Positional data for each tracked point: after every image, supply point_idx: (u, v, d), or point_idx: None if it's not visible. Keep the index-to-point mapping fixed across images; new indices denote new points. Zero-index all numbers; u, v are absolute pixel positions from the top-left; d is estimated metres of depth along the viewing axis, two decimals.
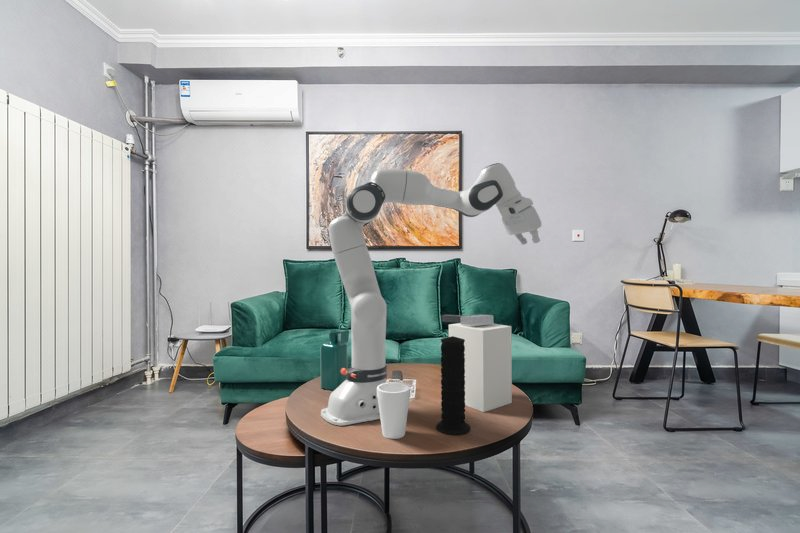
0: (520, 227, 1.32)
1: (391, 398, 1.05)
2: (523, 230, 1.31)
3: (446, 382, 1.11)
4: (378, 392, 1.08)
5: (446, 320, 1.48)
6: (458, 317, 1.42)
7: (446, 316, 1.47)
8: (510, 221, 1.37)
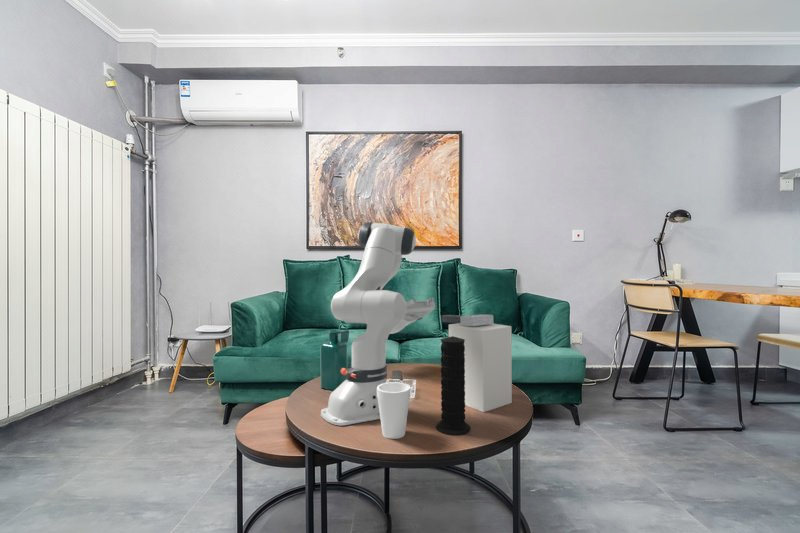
0: None
1: (391, 398, 1.05)
2: None
3: (446, 382, 1.11)
4: (378, 392, 1.08)
5: (446, 320, 1.48)
6: (458, 317, 1.42)
7: (446, 316, 1.48)
8: None
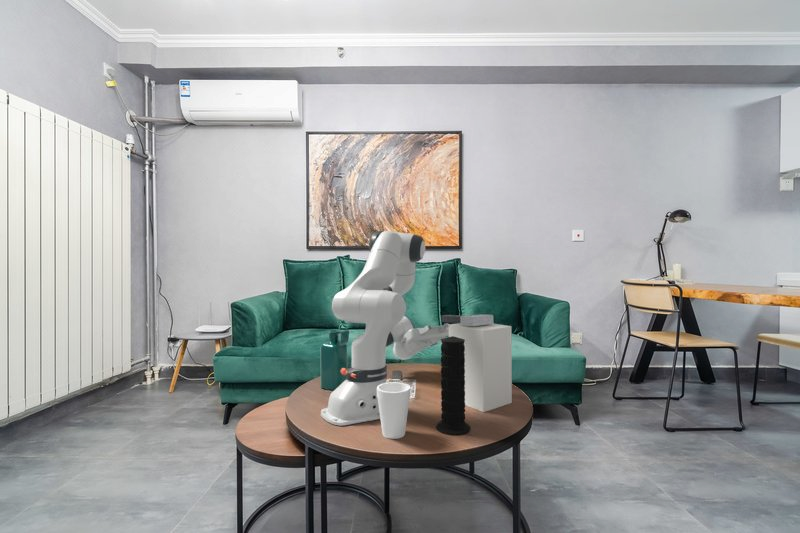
0: None
1: (391, 398, 1.05)
2: None
3: (446, 382, 1.11)
4: (378, 392, 1.08)
5: (446, 320, 1.48)
6: (458, 317, 1.42)
7: (446, 316, 1.48)
8: None
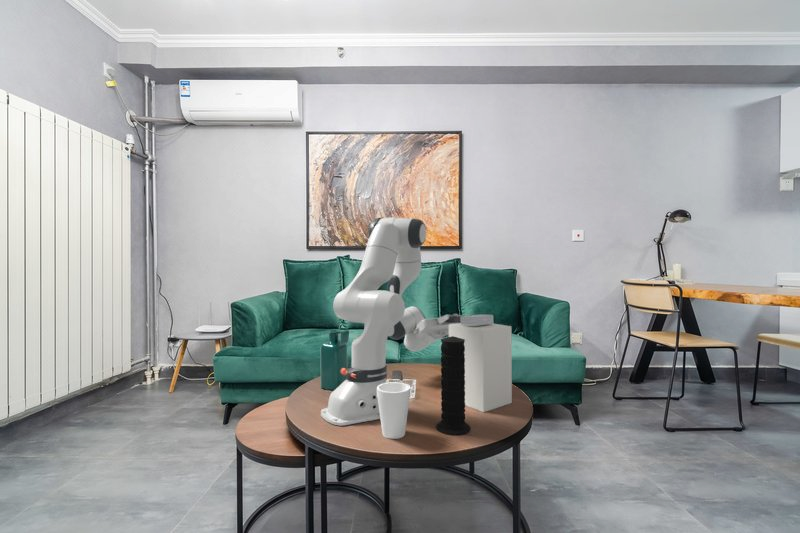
0: None
1: (391, 398, 1.05)
2: None
3: (446, 382, 1.11)
4: (378, 392, 1.08)
5: None
6: (458, 317, 1.42)
7: None
8: None
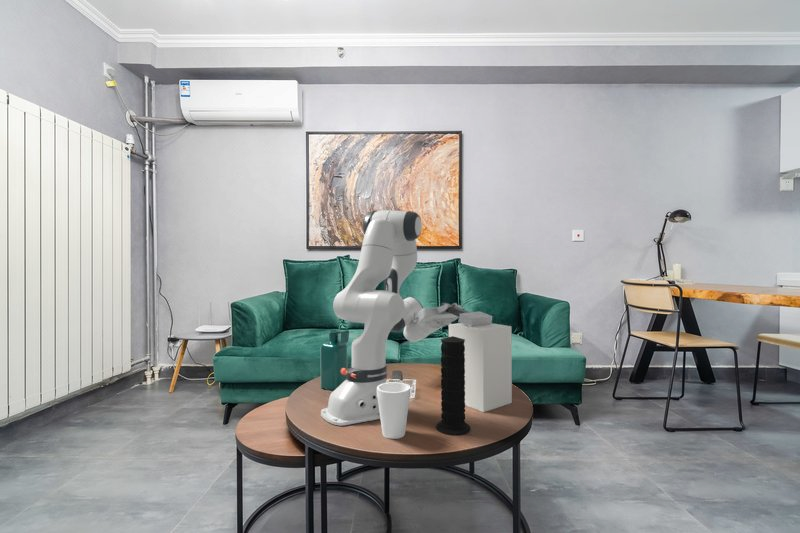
0: None
1: (391, 398, 1.05)
2: None
3: (446, 382, 1.11)
4: (378, 392, 1.08)
5: None
6: (457, 311, 1.43)
7: None
8: None
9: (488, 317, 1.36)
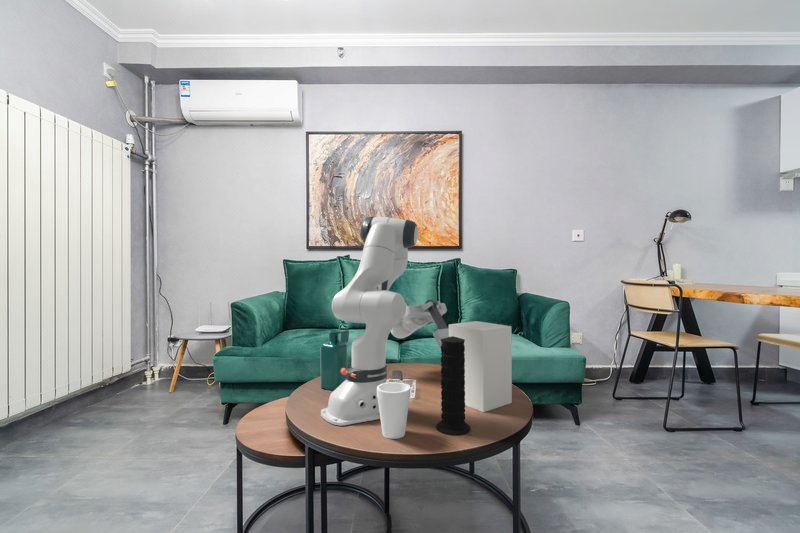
0: None
1: (391, 398, 1.05)
2: None
3: (446, 382, 1.11)
4: (378, 392, 1.08)
5: None
6: (437, 319, 1.52)
7: None
8: None
9: None
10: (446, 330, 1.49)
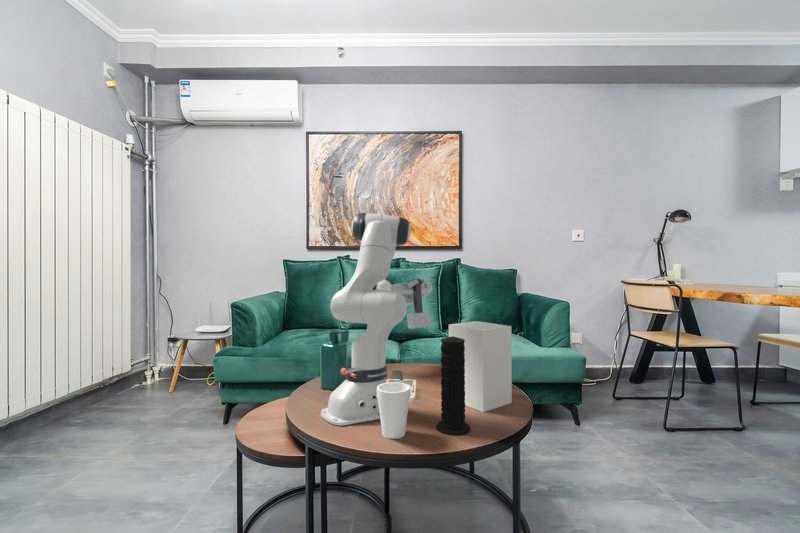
0: None
1: (391, 398, 1.05)
2: None
3: (446, 382, 1.11)
4: (378, 392, 1.08)
5: None
6: (416, 301, 1.62)
7: (415, 285, 1.63)
8: None
9: (427, 326, 1.63)
10: (420, 314, 1.61)
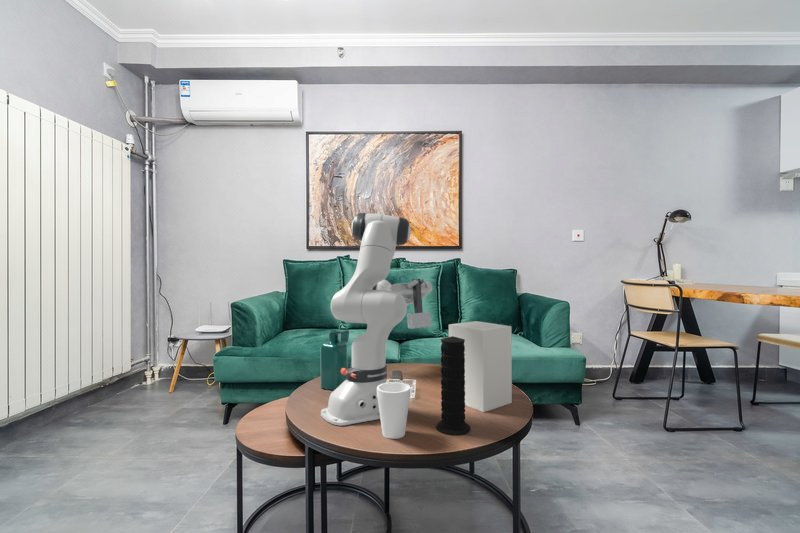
0: None
1: (391, 398, 1.05)
2: None
3: (446, 382, 1.11)
4: (378, 392, 1.08)
5: None
6: (416, 301, 1.62)
7: (415, 285, 1.63)
8: None
9: (427, 326, 1.63)
10: (420, 314, 1.61)
